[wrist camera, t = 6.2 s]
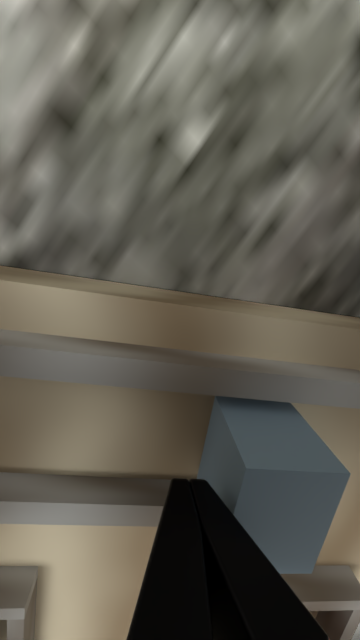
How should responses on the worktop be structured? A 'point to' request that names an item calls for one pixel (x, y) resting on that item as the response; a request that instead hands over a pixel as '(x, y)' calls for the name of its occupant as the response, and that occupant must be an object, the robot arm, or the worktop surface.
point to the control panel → (147, 438)
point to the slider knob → (273, 478)
